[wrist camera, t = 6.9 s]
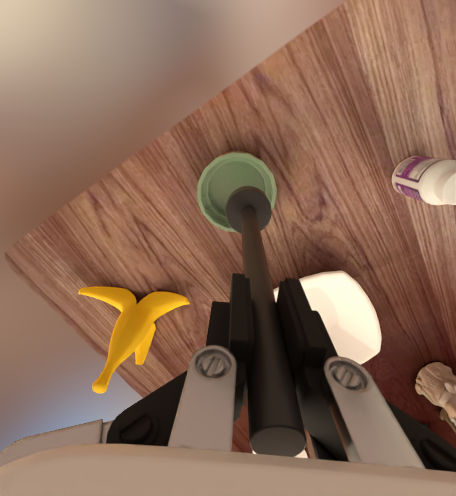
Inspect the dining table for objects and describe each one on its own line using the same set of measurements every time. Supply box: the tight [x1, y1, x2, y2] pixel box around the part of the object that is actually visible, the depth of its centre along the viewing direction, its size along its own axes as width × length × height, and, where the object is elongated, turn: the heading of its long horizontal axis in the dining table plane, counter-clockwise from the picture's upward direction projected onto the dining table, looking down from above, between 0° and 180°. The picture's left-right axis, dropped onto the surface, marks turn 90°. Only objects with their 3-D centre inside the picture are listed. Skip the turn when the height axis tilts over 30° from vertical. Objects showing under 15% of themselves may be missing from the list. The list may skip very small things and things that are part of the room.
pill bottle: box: [392, 156, 456, 205], centre depth 33 cm, size 5×5×10 cm
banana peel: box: [78, 287, 190, 393], centre depth 41 cm, size 17×19×17 cm
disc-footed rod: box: [225, 186, 307, 457], centre depth 16 cm, size 4×4×22 cm
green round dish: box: [197, 150, 277, 232], centre depth 37 cm, size 11×11×4 cm
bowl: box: [273, 271, 382, 364], centre depth 46 cm, size 22×22×5 cm
